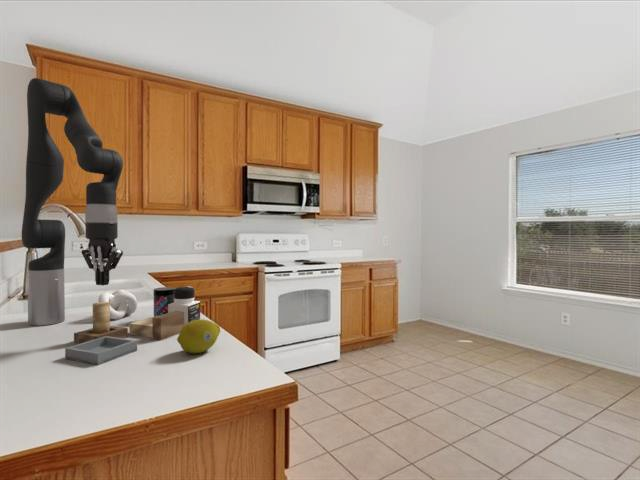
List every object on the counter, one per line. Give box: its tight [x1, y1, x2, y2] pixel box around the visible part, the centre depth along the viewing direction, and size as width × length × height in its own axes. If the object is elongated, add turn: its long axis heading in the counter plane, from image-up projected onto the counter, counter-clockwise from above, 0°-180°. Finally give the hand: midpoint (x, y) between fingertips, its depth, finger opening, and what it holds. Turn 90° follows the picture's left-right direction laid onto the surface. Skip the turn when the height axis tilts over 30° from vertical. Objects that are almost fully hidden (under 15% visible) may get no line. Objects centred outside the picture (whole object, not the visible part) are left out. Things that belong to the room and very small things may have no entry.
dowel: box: [92, 301, 111, 334], centre depth 100 cm, size 4×4×10 cm
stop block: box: [152, 311, 184, 341], centre depth 104 cm, size 3×9×6 cm, turn 159°
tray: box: [64, 336, 138, 366], centre depth 88 cm, size 11×11×2 cm
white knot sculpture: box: [97, 289, 138, 321], centre depth 126 cm, size 11×12×9 cm
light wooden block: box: [128, 316, 154, 338], centre depth 107 cm, size 10×8×4 cm
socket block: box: [73, 325, 129, 344], centre depth 100 cm, size 9×9×2 cm
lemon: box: [176, 319, 221, 355], centre depth 90 cm, size 11×8×8 cm
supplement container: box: [152, 286, 176, 317], centre depth 123 cm, size 7×7×10 cm
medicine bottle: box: [168, 286, 201, 325], centre depth 116 cm, size 7×7×12 cm
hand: (102, 284), depth 100 cm, fingers closed
